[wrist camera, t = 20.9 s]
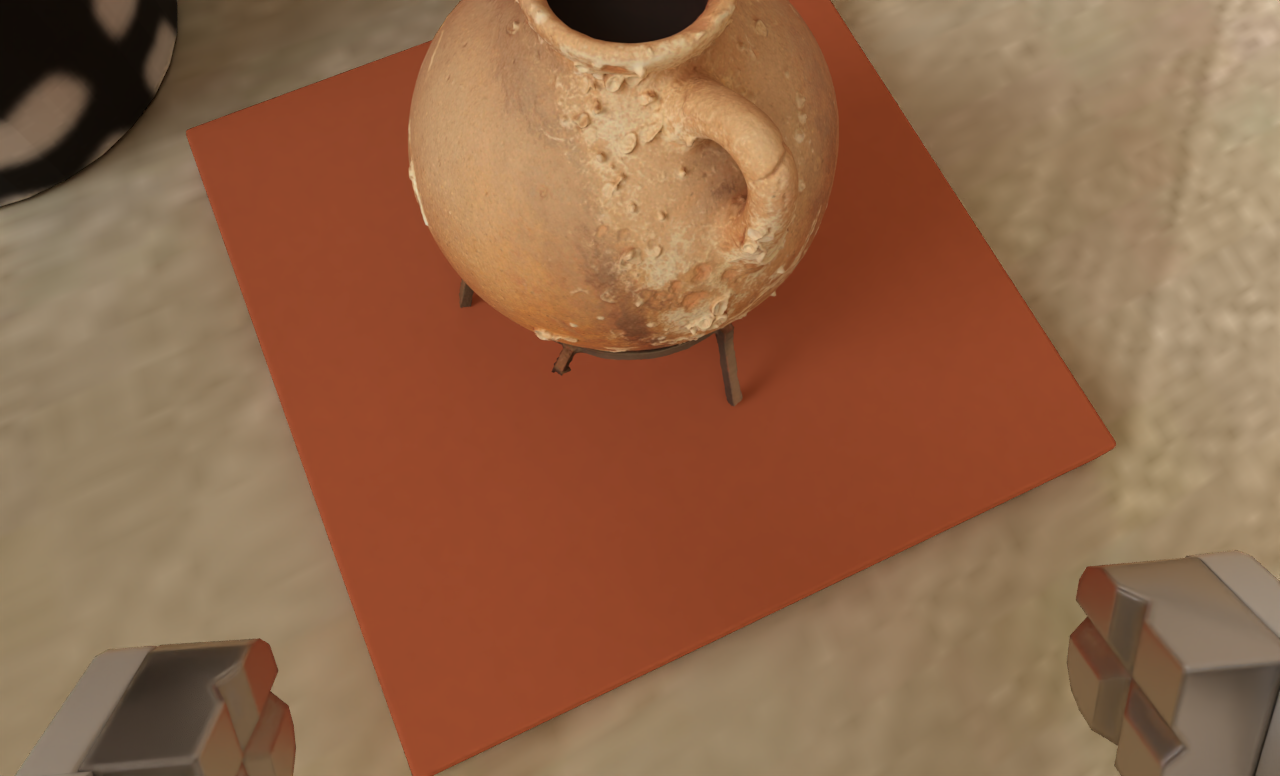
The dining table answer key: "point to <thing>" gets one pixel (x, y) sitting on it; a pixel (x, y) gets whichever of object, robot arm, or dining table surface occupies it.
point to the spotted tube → (74, 83)
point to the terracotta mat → (618, 412)
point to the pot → (624, 165)
